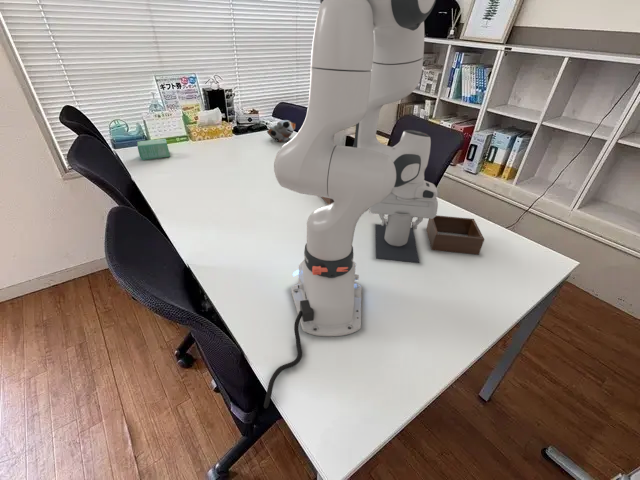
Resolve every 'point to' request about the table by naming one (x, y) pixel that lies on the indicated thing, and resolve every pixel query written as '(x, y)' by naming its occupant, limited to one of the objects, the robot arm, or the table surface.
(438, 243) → the crate
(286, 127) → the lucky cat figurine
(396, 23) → the robot arm
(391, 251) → the mat
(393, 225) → the can
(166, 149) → the box
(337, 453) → the table surface
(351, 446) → the table surface
